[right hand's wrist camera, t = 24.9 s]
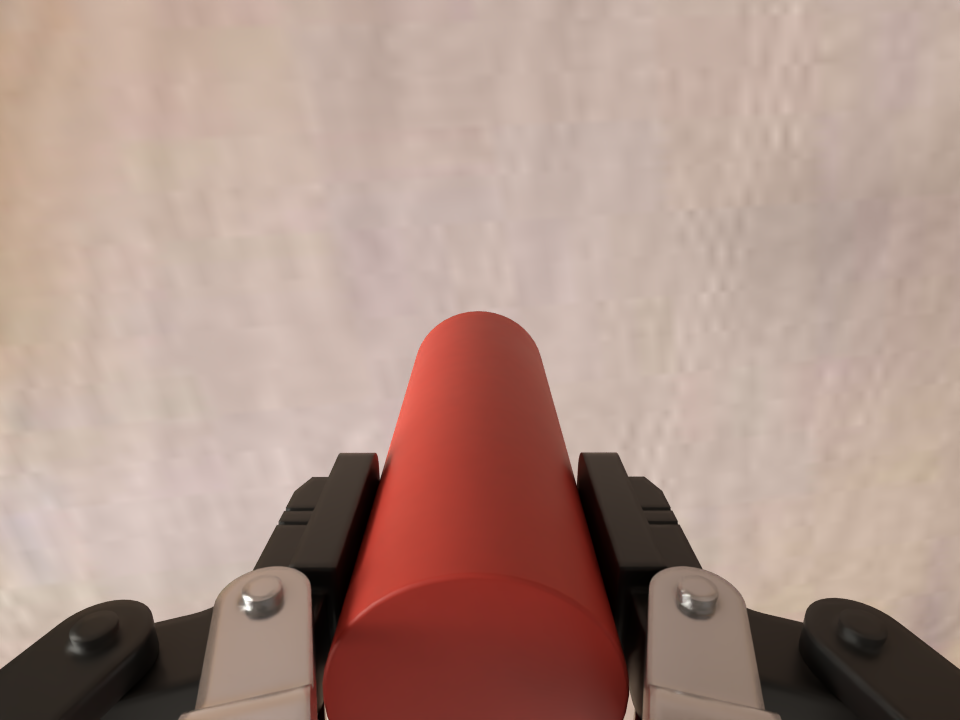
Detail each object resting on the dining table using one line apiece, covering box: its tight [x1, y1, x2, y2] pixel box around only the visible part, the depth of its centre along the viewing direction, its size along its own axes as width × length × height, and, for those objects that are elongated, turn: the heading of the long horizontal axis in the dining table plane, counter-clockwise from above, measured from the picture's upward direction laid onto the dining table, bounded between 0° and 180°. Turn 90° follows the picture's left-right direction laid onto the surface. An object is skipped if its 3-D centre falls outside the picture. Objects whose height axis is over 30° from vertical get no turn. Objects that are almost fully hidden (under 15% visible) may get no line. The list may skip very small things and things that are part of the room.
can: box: [322, 311, 629, 720], centre depth 14 cm, size 4×4×12 cm
